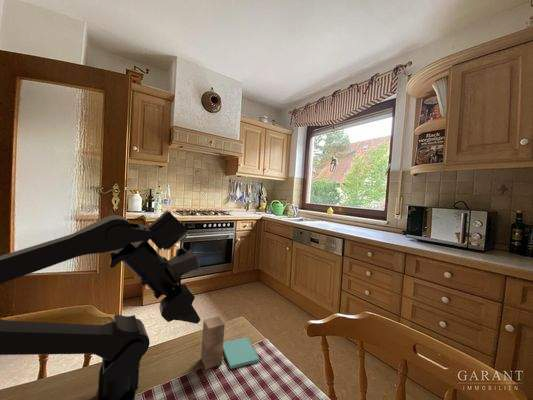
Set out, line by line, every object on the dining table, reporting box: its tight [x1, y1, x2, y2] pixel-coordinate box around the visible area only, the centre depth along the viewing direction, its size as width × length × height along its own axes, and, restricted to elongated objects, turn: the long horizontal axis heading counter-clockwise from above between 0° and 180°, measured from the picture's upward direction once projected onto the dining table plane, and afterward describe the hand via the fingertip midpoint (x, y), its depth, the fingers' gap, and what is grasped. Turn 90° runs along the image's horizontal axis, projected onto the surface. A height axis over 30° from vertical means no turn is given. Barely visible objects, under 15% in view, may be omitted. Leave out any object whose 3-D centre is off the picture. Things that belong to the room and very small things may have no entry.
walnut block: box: [200, 316, 226, 370], centre depth 58 cm, size 4×4×10 cm
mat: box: [223, 337, 260, 370], centre depth 62 cm, size 8×9×1 cm
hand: (193, 311), depth 55 cm, fingers open, 9 cm apart
